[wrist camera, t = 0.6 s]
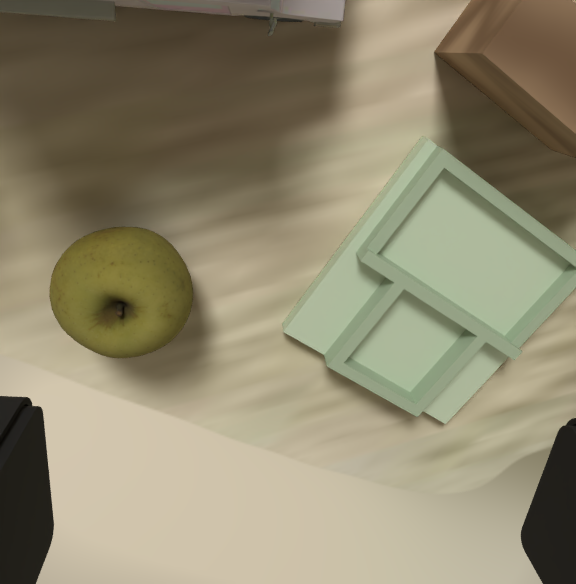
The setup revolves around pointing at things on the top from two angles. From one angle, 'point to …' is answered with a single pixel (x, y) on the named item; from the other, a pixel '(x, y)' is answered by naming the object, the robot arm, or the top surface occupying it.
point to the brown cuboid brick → (521, 62)
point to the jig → (433, 287)
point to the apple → (121, 292)
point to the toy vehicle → (190, 9)
